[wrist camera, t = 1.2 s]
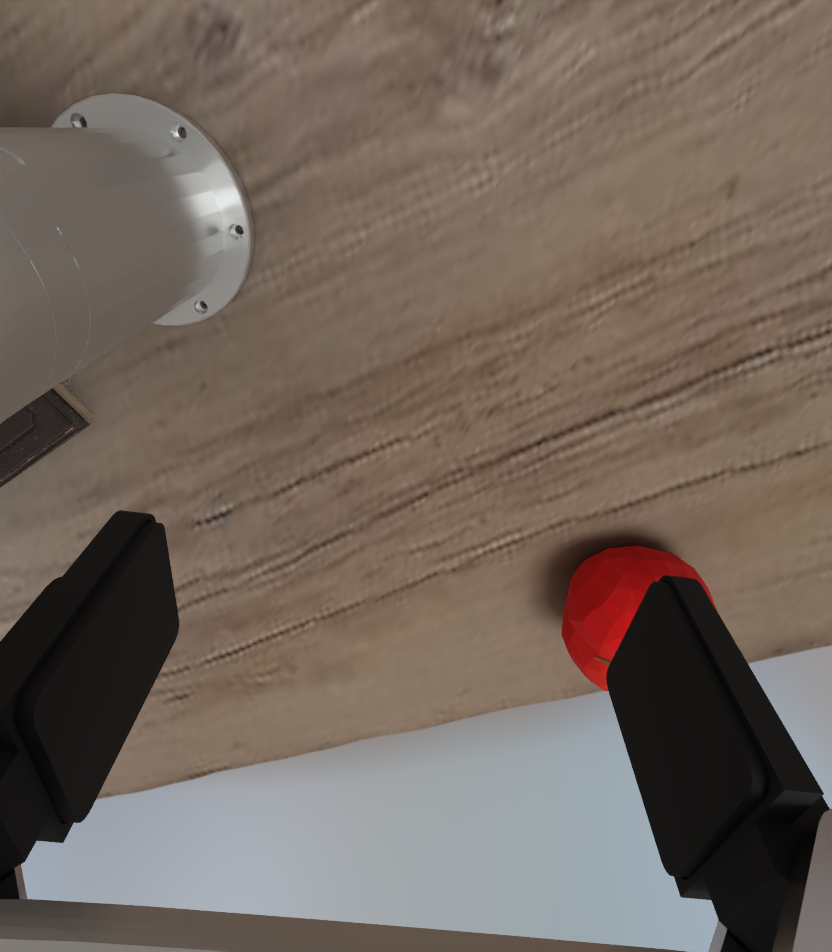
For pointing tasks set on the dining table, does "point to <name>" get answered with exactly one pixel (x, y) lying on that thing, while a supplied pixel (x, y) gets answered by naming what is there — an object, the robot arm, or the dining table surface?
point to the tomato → (612, 602)
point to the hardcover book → (39, 430)
